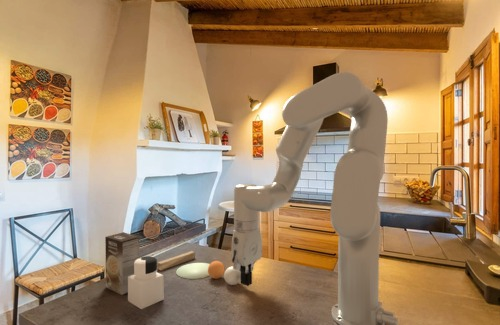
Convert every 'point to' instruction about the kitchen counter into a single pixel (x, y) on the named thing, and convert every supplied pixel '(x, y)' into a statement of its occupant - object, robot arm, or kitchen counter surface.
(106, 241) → the coffee box
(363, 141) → the robot arm
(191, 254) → the rail
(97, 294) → the kitchen counter surface
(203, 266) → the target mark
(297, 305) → the kitchen counter surface
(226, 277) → the cue ball
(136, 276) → the medicine bottle
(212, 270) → the object ball
